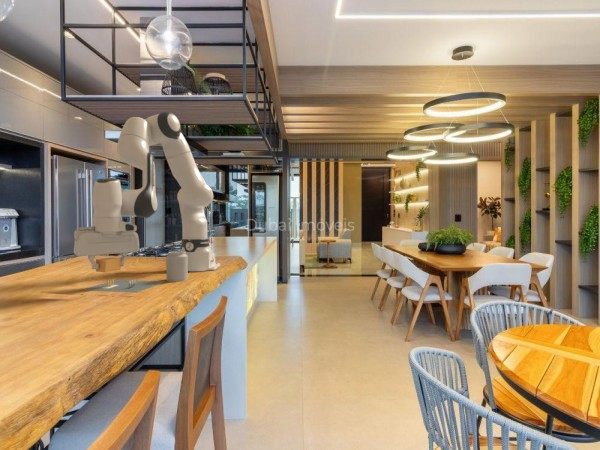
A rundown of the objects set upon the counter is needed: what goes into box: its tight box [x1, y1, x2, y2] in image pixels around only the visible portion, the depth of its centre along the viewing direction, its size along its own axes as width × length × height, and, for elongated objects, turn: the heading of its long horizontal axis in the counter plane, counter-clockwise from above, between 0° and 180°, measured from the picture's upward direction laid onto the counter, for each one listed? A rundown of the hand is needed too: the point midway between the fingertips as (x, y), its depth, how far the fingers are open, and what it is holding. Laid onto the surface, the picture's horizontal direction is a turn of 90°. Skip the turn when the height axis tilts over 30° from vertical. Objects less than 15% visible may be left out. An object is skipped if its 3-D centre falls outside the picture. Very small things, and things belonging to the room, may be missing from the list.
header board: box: [80, 278, 168, 298], centre depth 133 cm, size 19×20×4 cm
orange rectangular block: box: [95, 257, 121, 273], centre depth 130 cm, size 6×4×4 cm
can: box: [165, 250, 189, 283], centre depth 143 cm, size 8×8×12 cm
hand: (108, 267), depth 130 cm, fingers closed on orange rectangular block, 7 cm apart
